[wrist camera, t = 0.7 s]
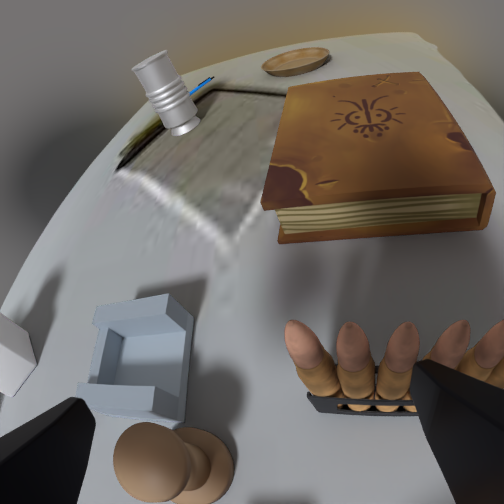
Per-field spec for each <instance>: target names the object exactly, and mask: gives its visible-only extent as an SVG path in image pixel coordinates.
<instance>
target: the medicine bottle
mask: <svg viewBox="0 0 504 504" xmlns="http://www.w3.org/2000/svg"><path fill="white" fill-rule="evenodd" d="M36 366H37V363H36V359H35V356H34V353H33V349H32V345H31V341H30V338H29V334H28V332H27V331H25V330H24V329H22V328H21V327H20V326H18V325H17V324H15V323H14V322H13V321H11V320H10V319H8V318H7V317H6V316H4V315H3V314H2V313H0V392H1V393H3V394H5V395H7V396H9V397H14V395H15V394H16V392H17V391H18V390H19V388H20V387H21V386H22V384H23V383H24V382H25V380H26V379H27V378H28V376H29V375H30V374H31V372H32V371H33V370H34V368H35V367H36Z"/></svg>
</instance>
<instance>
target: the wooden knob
mask: <svg viewBox="0 0 504 504" xmlns="http://www.w3.org/2000/svg"><path fill="white" fill-rule="evenodd" d="M113 464H114V470H115V474H116V477H117V479H118V481H119V483H120V484H121V486H122V487H123V489H124V490H125V491H126V492H127V493H128V494H130V495H131V496H132V497H134V498H136V499H138V500H140V501H144V502H166V501H169V500H171V501H173V502H174V503H177V504H211V503H213V502H215V501H217V500H219V499H220V498H221V497H222V496H223V495H224V494H225V493H226V492H227V491H228V489H229V487H230V486H231V483H232V480H233V476H234V464H233V459H232V456H231V454H230V452H229V450H228V448H227V447H226V445H225V444H224V443H223V442H222V441H221V440H220V439H219V438H218V437H217V436H215V435H213V434H212V433H210V432H207V431H204V430H200V429H197V428H191V427H183V428H178V429H175V430H171V429H169V428H167V427H164V426H161V425H158V424H155V423H150V422H142V423H137V424H134V425H132V426H131V427H129V428H128V429H126V430H125V431H124V432H123V433H122V435H121V436H120V437H119V439H118V441H117V443H116V446H115V449H114V455H113Z"/></svg>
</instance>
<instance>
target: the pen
mask: <svg viewBox="0 0 504 504" xmlns="http://www.w3.org/2000/svg"><path fill="white" fill-rule="evenodd" d="M213 78H214V77H212V78H210V77H209V78H208V80H207V79H206V80H205V81H203V82H202V83H200V84H201V85H200V84H199V85H198V87H196V88H195V89H194V90H192V91H191V92H190V95H191V94H193V93H194V92H195V91H197V90H198V89H199V88H201V87H202V86H204V85H205V84H206V83H208V82H209V81H210V80H212V79H213Z"/></svg>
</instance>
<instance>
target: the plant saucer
mask: <svg viewBox="0 0 504 504" xmlns="http://www.w3.org/2000/svg"><path fill="white" fill-rule="evenodd" d="M328 55H329V50H328V49H325V48H319V47H312V48H303V49H297V50H292V51H289V52H285V53H282V54H279V55H277V56H275V57H273V58H271V59H269V60H267V61H266V62H265V63H263V64H262V66H261V68H262V69H263V70H264V71H266V72H268V73H270V74H272V75H274V76H278V77H288V76H295V75H300V74H304V73H307V72H310V71H313V70H315V69H317V68H319V67H320V66H322V64H323V63H324V62H325V60H326V59H327V57H328Z"/></svg>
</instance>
